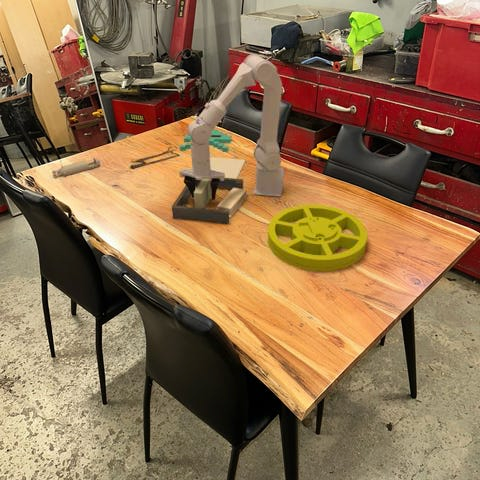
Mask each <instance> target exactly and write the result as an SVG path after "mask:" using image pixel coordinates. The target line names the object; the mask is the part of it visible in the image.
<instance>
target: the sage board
mask: <svg viewBox="0 0 480 480" xmlns="http://www.w3.org/2000/svg"><path fill="white" fill-rule="evenodd" d="M211 181H212V179H202V180H201V182H200V183H199V185H198V187H196V188H195V192H194V198H193V201H194V202H193V203H194V208H204V209H206V207H207V206H208V204H209V202H210V200H211V199H212V191H211V186H210V182H211Z"/></svg>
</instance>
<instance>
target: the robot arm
mask: <svg viewBox="0 0 480 480" xmlns="http://www.w3.org/2000/svg"><path fill="white" fill-rule="evenodd" d="M256 82H257V83H259V85H260V86H261V87H263V100H262V113H261V125H260V137H259V138H258V139H257V140H256V146H255V147H254V150H253V158H254V159H255V160H256V166H255V169H256V170H255V173H256V174H255V188H254V190H253V195H257V196H267V197H279V198H280V197H282V193H283V190H284V187H285V182H284V180H285V168H284V167H280V166H281V164H282V158H281V155H280V154H281V153H280V150H281V149H280V147H279V144H278V132H279V131H278V130H279V129H278V128H279V121H280V110H281V103H282V102H281V101H282V92H283V83H282V82H283V81H282V80H281V77H280V75H279V73H278V67H276V66H275V64H273V63H272V62H271V61H269V60H266V59H265V58H263V57H261V56H260V55H259V54H256V53H252V54H249V55H248V56H247V57H245V59H244V61H243V62H241V64H239V67H238V68H237V70H236V72H235V74H234V75H233V77H232V78H231V79H230V81H229V83H227V85H226V86H225V88H224V89H223V90H222V91H221V93H220V95H219V96H218V98H217V99H213V100H210V101H209V102H206V103H205V105H204V107H205V108H204V109H203V110H202V111H201V113H200V114H199V115H198V116H196V117H195V118H194V120H193V121H191V122H190V123H188V126H187V129H186V133H187V135H189V136H190V137H191V138H190V141H191V149H190V154H191V165H192V168H187V169H185V168H184V169H180V171H179V177H180V178H184V179H183V183H184V184H185V186H187V187H188V189H189V191H190V193H191V195H190V197H191V198H192V199H194V192H195V190H196V188H195V178H196V180H202V179H212V181H211V182H210V186H211V191H212V196H211V200H212V201H215V199H216V198H217V191H218V189H217V188H218V185H219V182H220V181H224V179H225V173H221V172H217V171H214V170H211V165H210V157H211V153H210V152H211V151H210V150H211V149H210V145H209V140H210V138H211V132H212V130H213V129H215V128H216V127H217V126H218V124H219V123H220V122H221V121H222V119H223V118H224V117H225V115H226V114H227V107H228V106H229V104H231V102H232V101H233V100H234V99H235V98H236V97H237V96H239V94H240V92H242V90H243V89H244V88H246V87H253V86H256V85H257V83H256Z"/></svg>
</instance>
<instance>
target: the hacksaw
mask: <svg viewBox="0 0 480 480" xmlns="http://www.w3.org/2000/svg"><path fill="white" fill-rule="evenodd" d="M167 148H168V149H167V151H162V153H158V154H156V155H155V154H154V155H152V156H151V155H150V156H146V157H142V158H139V159H138V158H137V159H136V160H135V158H134V159H131V160H130V162H131V163H137V164H132V165H130V166H129V169H132V170H135V169H137V168H141V167H145V166H148V165H150V164H154V163H157V162H161V161H164V160H169V159H173V158H177V157H181V155H180V154H178V153H177V152H174V151H176V150H177V149H178V147H177V146H175V148H176V149H174V150H170V149H171V148H172V146H169V147H167ZM166 154H172V155H173V156H169V157H165V158H161V159H157V160H153V161H149V162H147V160H149V159H153V158H158V157H160V156H163V155H166ZM133 160H134V161H133Z"/></svg>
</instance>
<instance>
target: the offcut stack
mask: <svg viewBox="0 0 480 480" xmlns="http://www.w3.org/2000/svg"><path fill="white" fill-rule="evenodd" d="M248 196H249V193H247V189H244V188H243V189H238V188H233V189H232V190H229V192H228V193H227V194H226V195H225V196H224V198H223V199H222V200H221V201H220V202H219V203H218V204H217V206H216V210H224V211H229V220H231V219H232V218H233V217H234V215H235V213H236V212H237V211H238V209H239V208H240V206H241V205H242V204H243V203H244V201H245V200H246V199H247V198H248Z"/></svg>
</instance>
